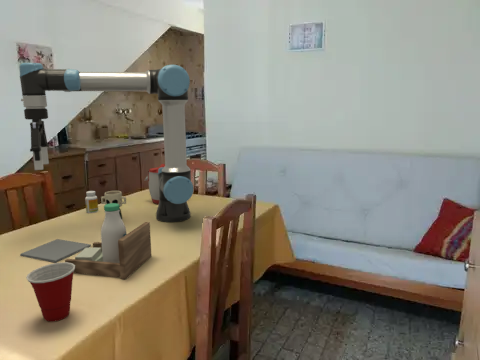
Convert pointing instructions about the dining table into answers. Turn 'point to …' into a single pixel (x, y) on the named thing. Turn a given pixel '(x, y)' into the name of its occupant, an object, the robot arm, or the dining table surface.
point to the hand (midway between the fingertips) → (42, 166)
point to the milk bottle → (111, 233)
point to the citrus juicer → (154, 183)
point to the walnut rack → (120, 255)
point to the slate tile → (55, 250)
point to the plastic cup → (53, 289)
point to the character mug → (114, 199)
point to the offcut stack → (90, 254)
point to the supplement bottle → (91, 202)
